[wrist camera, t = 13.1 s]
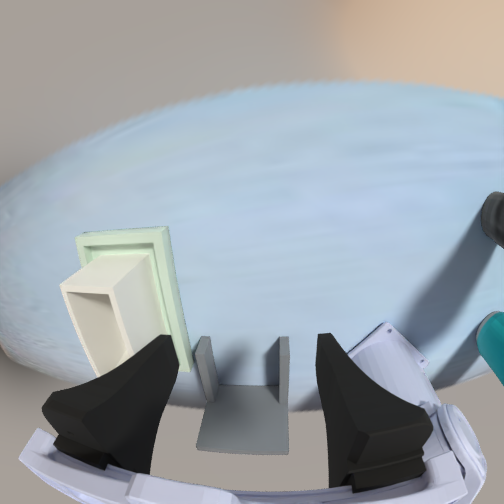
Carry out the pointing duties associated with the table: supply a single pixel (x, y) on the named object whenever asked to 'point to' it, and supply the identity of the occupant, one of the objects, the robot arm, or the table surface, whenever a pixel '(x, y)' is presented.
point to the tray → (163, 270)
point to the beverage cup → (494, 217)
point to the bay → (243, 410)
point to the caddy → (114, 308)
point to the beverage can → (492, 342)
